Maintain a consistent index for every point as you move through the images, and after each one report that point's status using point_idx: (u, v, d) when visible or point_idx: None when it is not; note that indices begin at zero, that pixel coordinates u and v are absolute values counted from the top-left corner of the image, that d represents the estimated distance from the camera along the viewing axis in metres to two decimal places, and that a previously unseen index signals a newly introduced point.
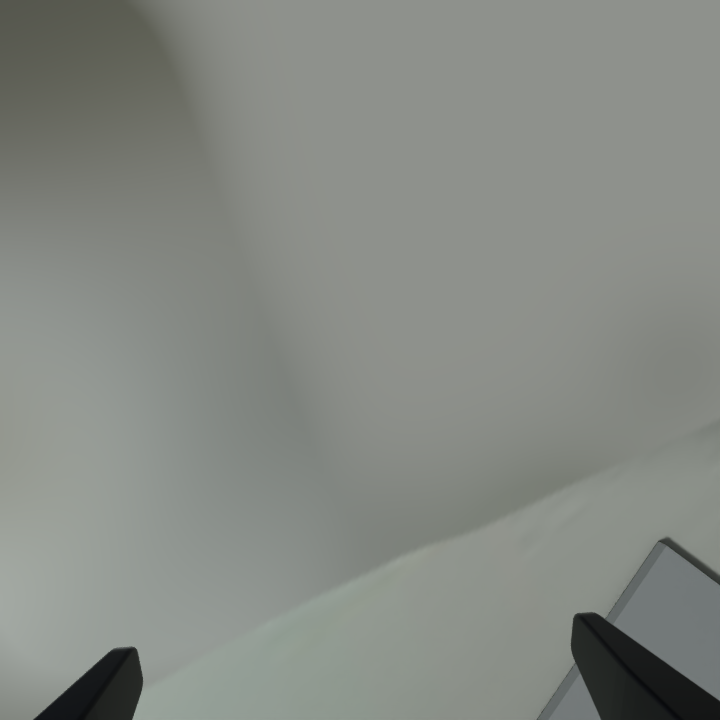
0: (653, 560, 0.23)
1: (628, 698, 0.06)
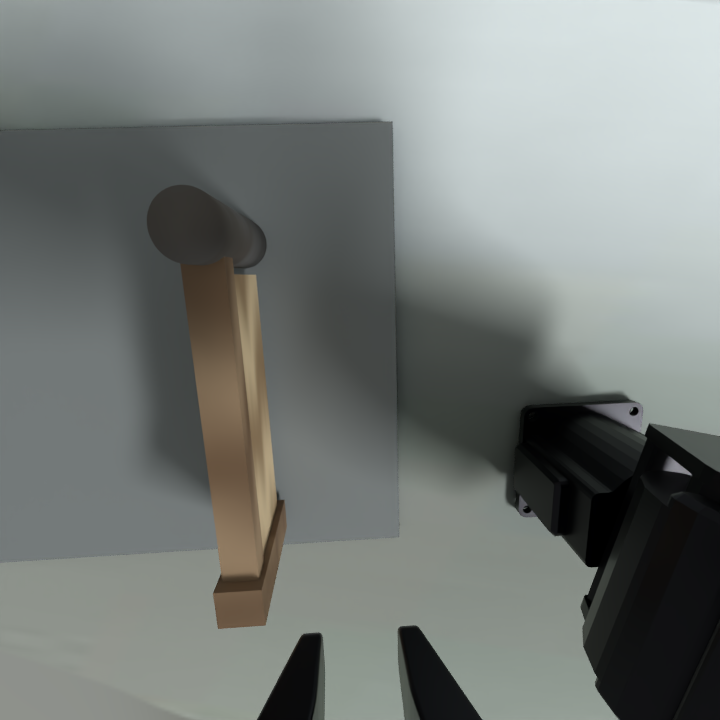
0: None
1: (411, 716, 0.06)
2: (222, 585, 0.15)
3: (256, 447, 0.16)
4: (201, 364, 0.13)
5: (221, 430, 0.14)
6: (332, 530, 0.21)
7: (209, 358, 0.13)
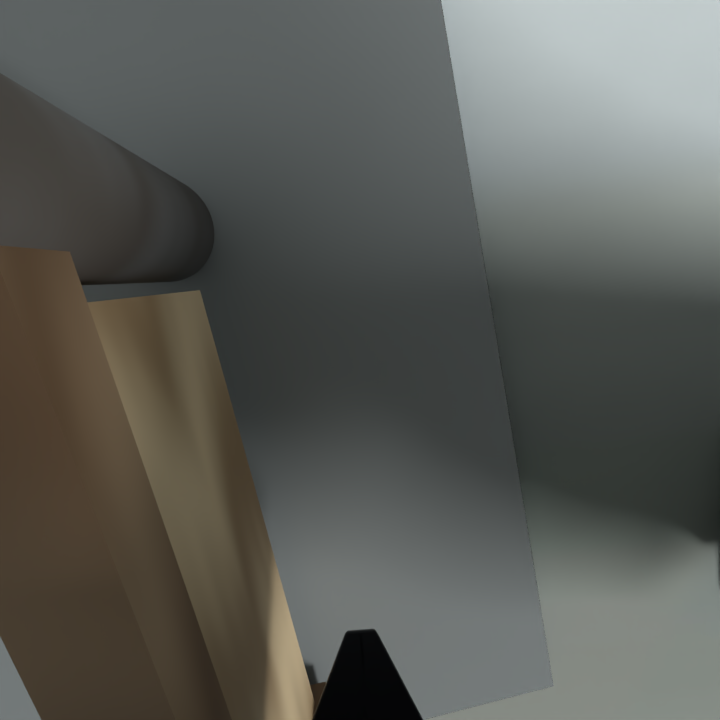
0: None
1: None
2: None
3: (251, 685, 0.07)
4: (15, 610, 0.04)
5: None
6: (438, 698, 0.12)
7: (36, 588, 0.04)
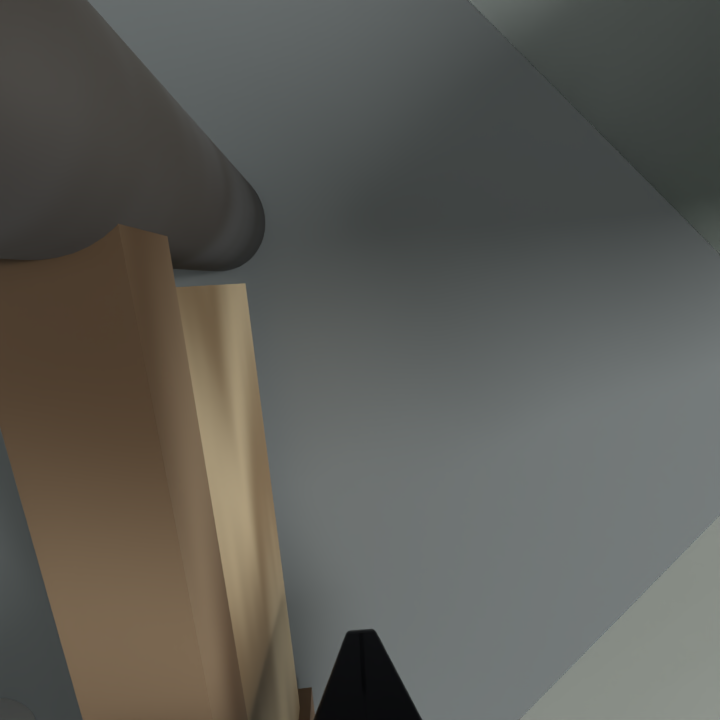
0: None
1: None
2: None
3: (259, 685, 0.07)
4: (72, 587, 0.04)
5: None
6: None
7: (97, 568, 0.04)
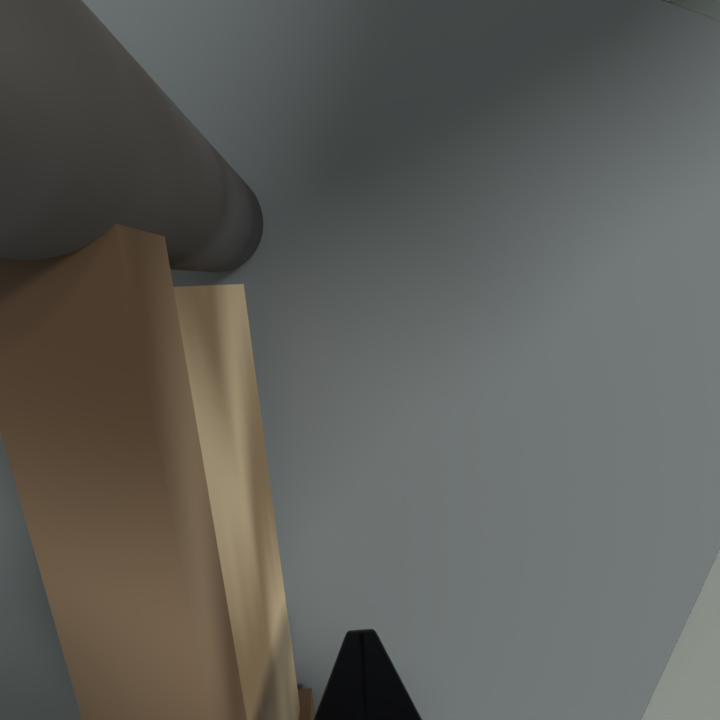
0: None
1: None
2: None
3: (258, 684, 0.07)
4: (71, 585, 0.04)
5: None
6: None
7: (96, 566, 0.04)
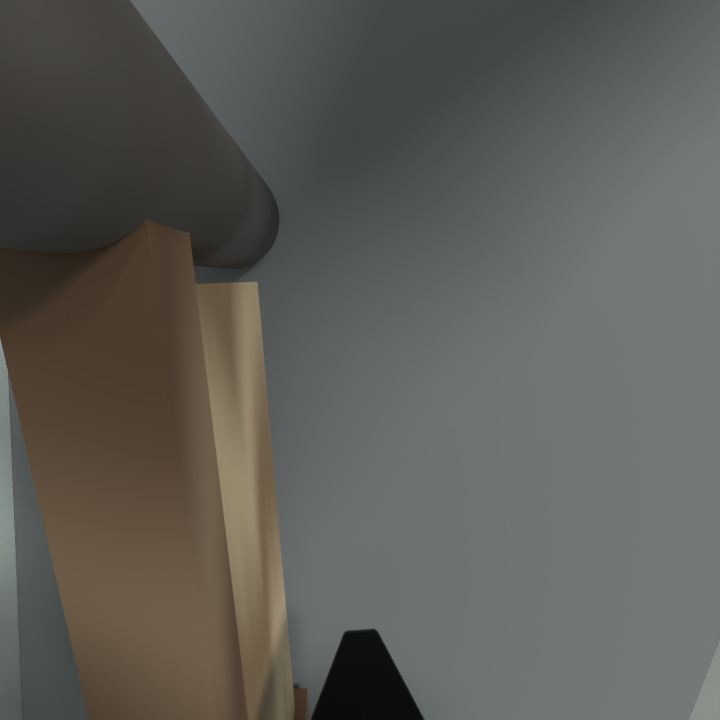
0: None
1: None
2: None
3: (259, 684, 0.07)
4: (83, 581, 0.04)
5: None
6: None
7: (109, 562, 0.04)
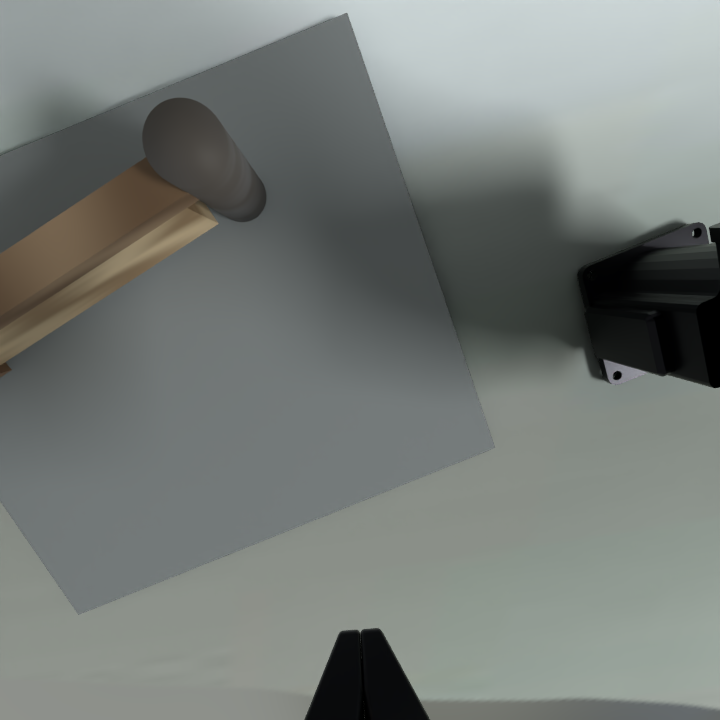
0: (101, 604, 0.21)
1: None
2: None
3: (31, 317, 0.14)
4: (66, 222, 0.11)
5: (10, 277, 0.12)
6: (426, 462, 0.20)
7: (78, 227, 0.11)
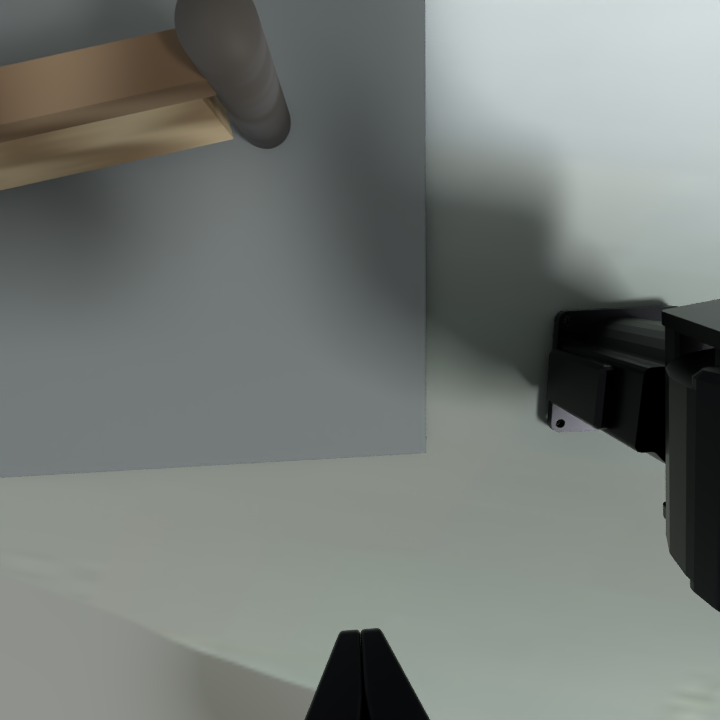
0: None
1: None
2: None
3: (11, 152, 0.13)
4: (75, 61, 0.11)
5: None
6: (356, 444, 0.20)
7: (85, 71, 0.11)
